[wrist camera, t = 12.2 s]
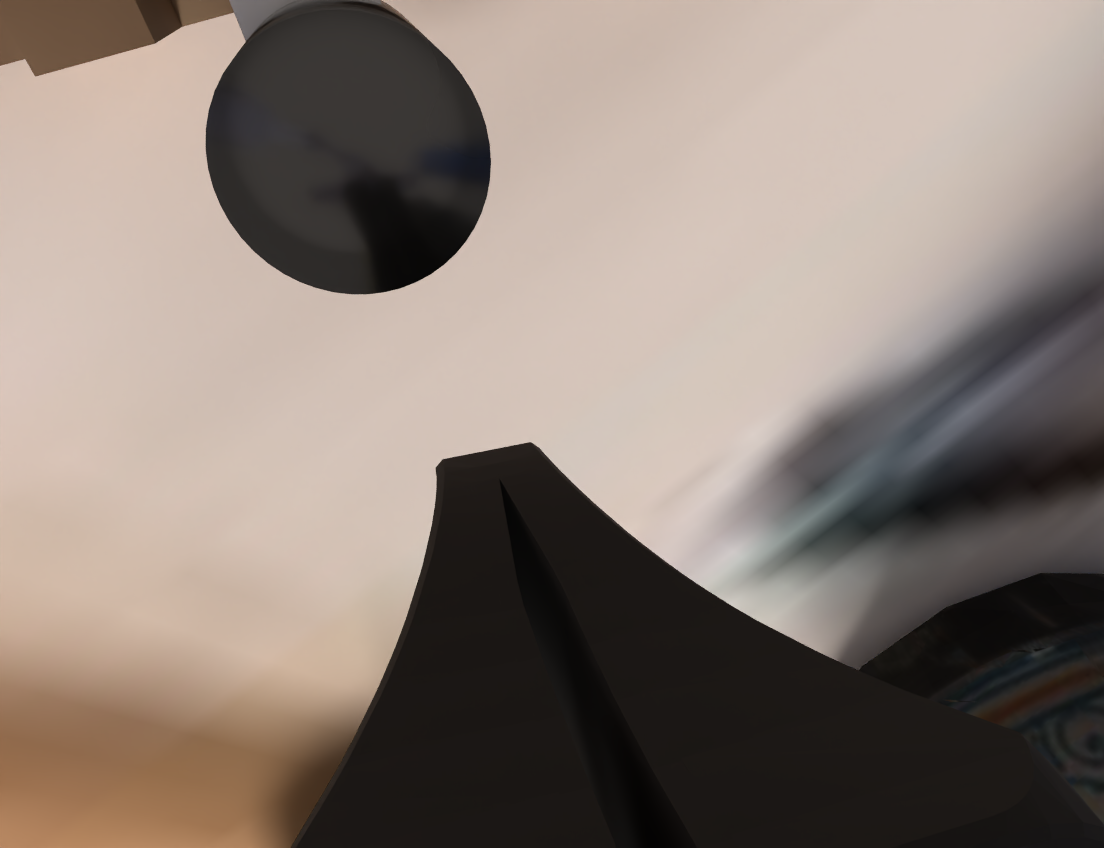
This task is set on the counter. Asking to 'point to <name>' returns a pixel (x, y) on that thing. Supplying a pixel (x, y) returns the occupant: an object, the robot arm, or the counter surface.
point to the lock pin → (346, 145)
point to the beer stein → (1019, 668)
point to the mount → (91, 28)
